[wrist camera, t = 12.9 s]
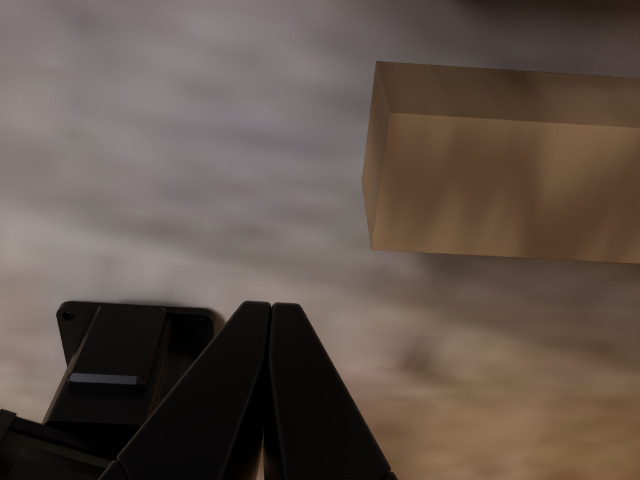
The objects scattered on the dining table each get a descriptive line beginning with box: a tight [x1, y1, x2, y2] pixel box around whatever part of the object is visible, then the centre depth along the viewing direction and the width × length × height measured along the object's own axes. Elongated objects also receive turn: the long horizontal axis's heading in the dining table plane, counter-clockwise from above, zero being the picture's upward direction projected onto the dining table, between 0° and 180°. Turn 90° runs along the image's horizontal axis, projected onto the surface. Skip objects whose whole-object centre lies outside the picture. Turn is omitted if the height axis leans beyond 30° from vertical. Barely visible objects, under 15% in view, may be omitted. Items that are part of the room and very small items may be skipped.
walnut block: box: [362, 61, 640, 264], centre depth 20 cm, size 4×4×10 cm
